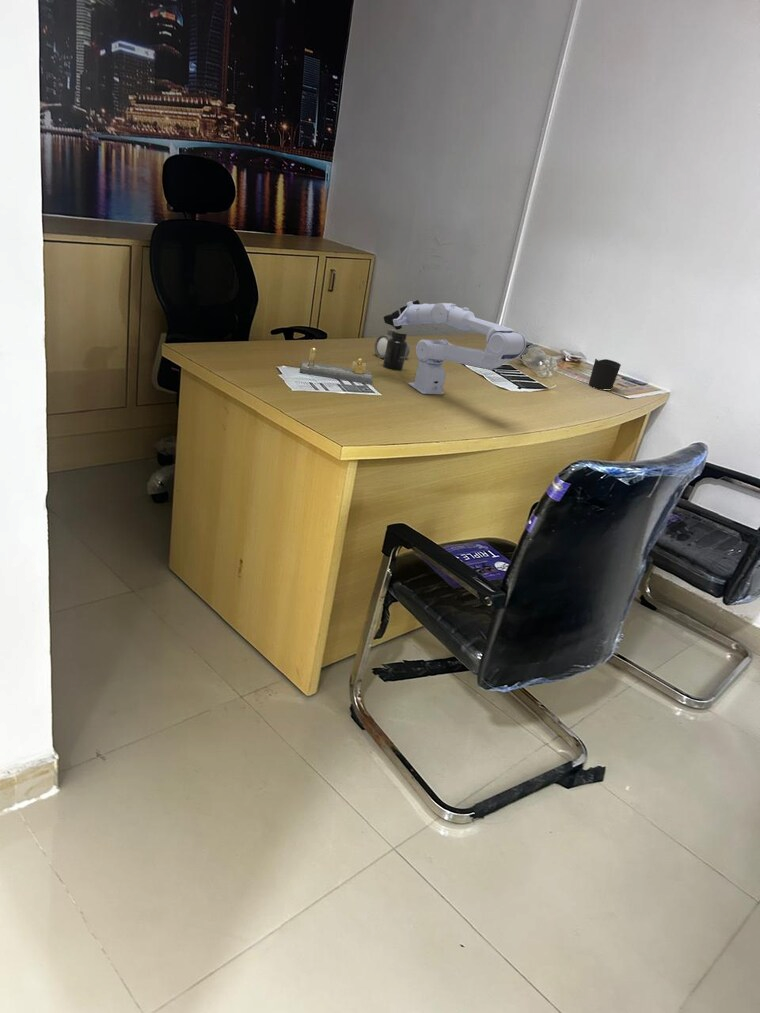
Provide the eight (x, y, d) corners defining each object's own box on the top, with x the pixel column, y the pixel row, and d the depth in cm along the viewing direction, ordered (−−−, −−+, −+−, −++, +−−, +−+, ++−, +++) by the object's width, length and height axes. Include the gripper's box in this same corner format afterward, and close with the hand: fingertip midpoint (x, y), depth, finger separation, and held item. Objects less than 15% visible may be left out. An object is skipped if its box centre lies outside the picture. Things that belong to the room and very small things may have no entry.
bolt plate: (370, 375, 229) (374, 354, 226) (371, 384, 220) (376, 362, 217) (301, 364, 227) (304, 342, 224) (300, 372, 218) (303, 349, 215)
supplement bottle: (402, 371, 241) (409, 336, 236) (382, 368, 240) (389, 332, 235) (402, 366, 247) (409, 331, 242) (383, 363, 247) (389, 328, 242)
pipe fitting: (385, 360, 249) (392, 330, 246) (371, 355, 254) (377, 326, 251) (411, 363, 257) (417, 334, 254) (396, 358, 262) (403, 330, 259)
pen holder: (613, 393, 268) (622, 367, 264) (588, 387, 269) (596, 361, 265) (611, 387, 277) (619, 362, 273) (586, 381, 278) (594, 356, 274)
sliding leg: (364, 371, 226) (366, 358, 224) (364, 377, 220) (367, 363, 218) (351, 369, 225) (353, 356, 223) (351, 375, 219) (354, 361, 217)
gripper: (435, 293, 224) (405, 295, 234) (404, 309, 216) (374, 311, 226) (440, 315, 227) (410, 316, 237) (410, 332, 220) (380, 332, 229)
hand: (393, 315), depth 232 cm, fingers open, 7 cm apart
